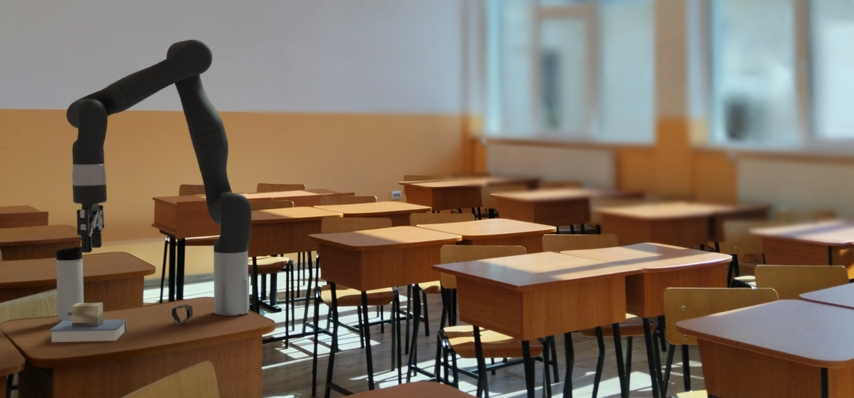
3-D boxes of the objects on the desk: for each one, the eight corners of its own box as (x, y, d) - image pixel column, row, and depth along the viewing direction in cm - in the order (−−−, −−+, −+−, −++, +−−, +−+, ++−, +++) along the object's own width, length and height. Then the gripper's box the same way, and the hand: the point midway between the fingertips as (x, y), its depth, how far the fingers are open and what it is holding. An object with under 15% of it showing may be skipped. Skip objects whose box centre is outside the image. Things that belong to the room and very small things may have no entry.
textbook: (126, 333, 200) (126, 319, 200) (116, 343, 190) (116, 328, 190) (63, 334, 198) (63, 320, 198) (49, 344, 188) (49, 329, 188)
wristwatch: (189, 325, 207) (188, 306, 206) (171, 324, 208) (170, 305, 208) (195, 322, 210) (194, 303, 209) (177, 321, 211) (177, 302, 210)
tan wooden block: (103, 322, 195) (102, 302, 195) (98, 326, 191) (97, 306, 191) (77, 323, 195) (77, 303, 194) (72, 327, 191) (71, 306, 190)
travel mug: (75, 325, 205) (73, 248, 204) (52, 324, 207) (50, 247, 205) (90, 320, 211) (88, 245, 210) (67, 319, 213) (66, 244, 211)
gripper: (97, 184, 186) (100, 253, 187) (113, 181, 200) (115, 245, 201) (63, 185, 185) (66, 254, 186) (81, 181, 199) (84, 246, 200)
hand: (92, 249), depth 193 cm, fingers open, 8 cm apart
